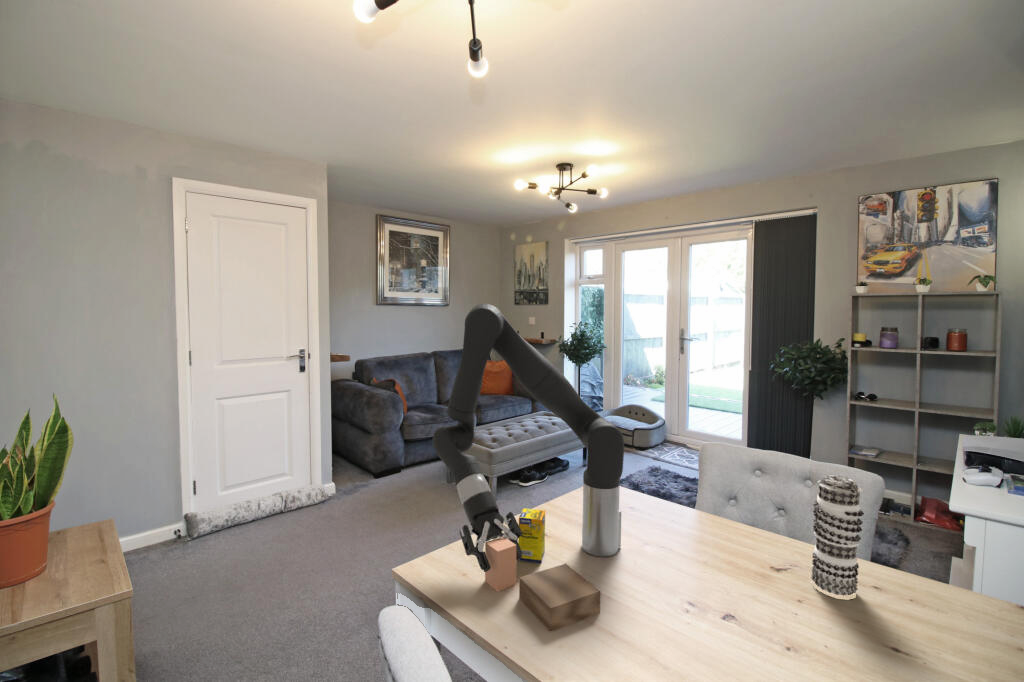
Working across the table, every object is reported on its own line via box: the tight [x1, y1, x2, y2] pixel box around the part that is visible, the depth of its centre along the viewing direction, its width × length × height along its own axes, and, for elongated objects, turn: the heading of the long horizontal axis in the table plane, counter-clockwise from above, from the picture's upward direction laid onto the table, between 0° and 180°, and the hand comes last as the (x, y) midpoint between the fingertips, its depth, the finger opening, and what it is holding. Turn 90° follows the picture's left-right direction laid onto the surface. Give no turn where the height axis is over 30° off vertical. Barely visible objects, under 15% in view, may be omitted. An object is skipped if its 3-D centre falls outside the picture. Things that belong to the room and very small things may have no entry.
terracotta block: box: [484, 536, 517, 592], centre depth 108 cm, size 5×5×9 cm
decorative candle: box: [810, 475, 865, 596], centre depth 106 cm, size 9×9×25 cm
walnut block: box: [518, 563, 601, 633], centre depth 99 cm, size 12×12×5 cm
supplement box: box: [518, 508, 546, 564], centre depth 119 cm, size 6×6×11 cm
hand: (503, 564), depth 107 cm, fingers open, 8 cm apart
